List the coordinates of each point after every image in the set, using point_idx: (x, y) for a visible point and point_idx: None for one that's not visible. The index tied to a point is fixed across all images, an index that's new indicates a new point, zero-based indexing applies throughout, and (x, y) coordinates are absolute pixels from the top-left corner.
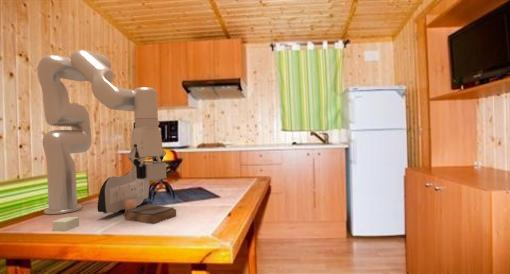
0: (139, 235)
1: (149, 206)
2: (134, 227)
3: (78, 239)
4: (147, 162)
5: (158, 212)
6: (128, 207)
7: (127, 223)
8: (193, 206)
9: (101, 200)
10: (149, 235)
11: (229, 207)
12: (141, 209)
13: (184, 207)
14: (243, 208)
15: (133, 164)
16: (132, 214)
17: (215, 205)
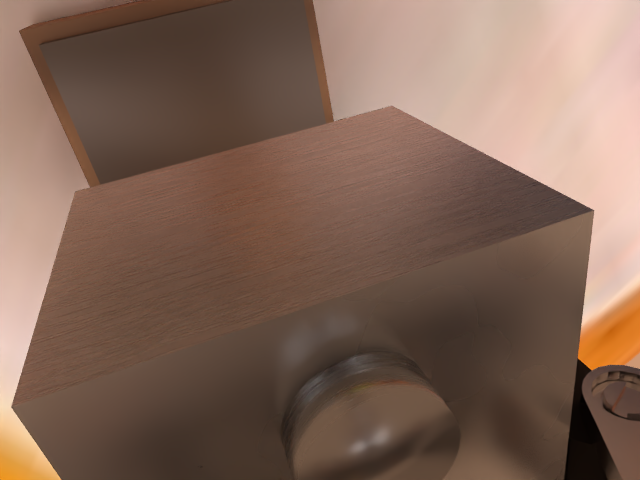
0: (11, 451)
1: (269, 89)
2: (34, 304)
3: None
4: (564, 305)
5: None
6: None
7: (19, 174)
8: (562, 118)
9: None
10: (57, 474)
11: (595, 302)
12: (167, 141)
13: (522, 89)
14: (595, 359)
15: (63, 465)
16: (74, 148)
17: (616, 210)
